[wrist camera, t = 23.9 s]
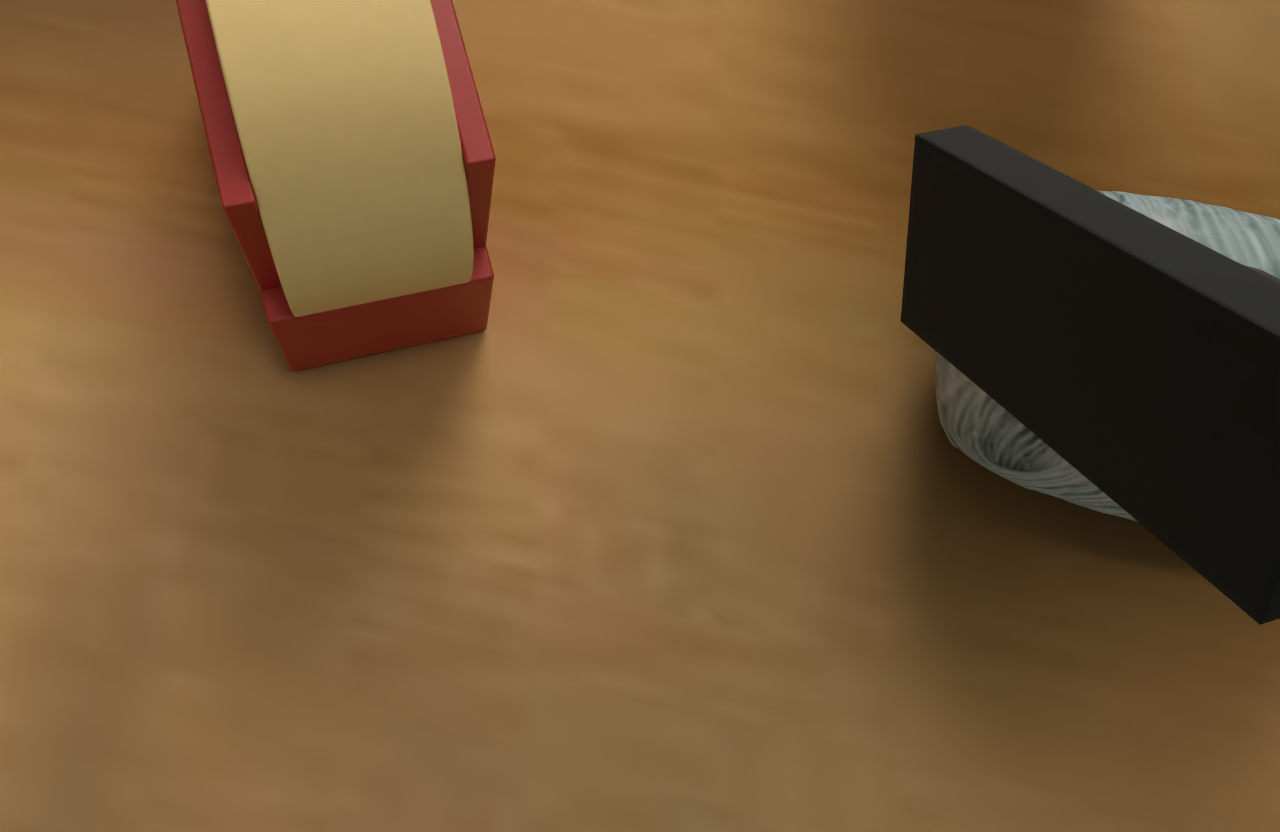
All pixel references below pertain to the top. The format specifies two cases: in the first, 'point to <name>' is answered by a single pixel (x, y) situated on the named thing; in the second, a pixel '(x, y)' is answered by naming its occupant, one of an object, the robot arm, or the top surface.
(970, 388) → the spool
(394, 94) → the tape dispenser
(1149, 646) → the top surface
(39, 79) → the top surface
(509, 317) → the top surface
